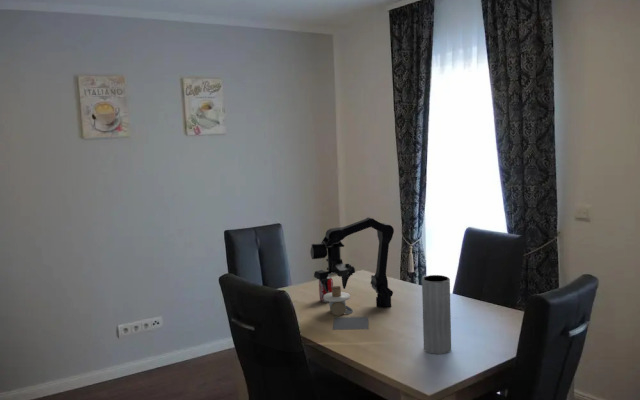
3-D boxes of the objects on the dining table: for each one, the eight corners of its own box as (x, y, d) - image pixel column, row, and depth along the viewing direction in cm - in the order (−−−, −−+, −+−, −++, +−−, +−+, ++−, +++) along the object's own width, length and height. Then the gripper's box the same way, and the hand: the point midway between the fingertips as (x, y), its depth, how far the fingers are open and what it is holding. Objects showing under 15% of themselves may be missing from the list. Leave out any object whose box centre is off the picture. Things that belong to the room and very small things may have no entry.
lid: (350, 293, 249) (349, 283, 248) (349, 301, 237) (348, 290, 236) (324, 294, 250) (324, 283, 249) (322, 302, 238) (321, 291, 238)
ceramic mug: (330, 317, 240) (329, 301, 239) (329, 311, 248) (328, 295, 247) (353, 316, 240) (353, 300, 239) (352, 310, 248) (351, 294, 247)
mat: (368, 318, 236) (368, 316, 236) (368, 330, 221) (368, 328, 221) (334, 319, 237) (334, 317, 237) (332, 331, 223) (332, 329, 222)
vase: (431, 342, 206) (430, 273, 203) (455, 347, 200) (454, 277, 197) (418, 350, 198) (416, 279, 195) (443, 356, 192) (441, 283, 189)
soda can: (332, 303, 260) (331, 279, 259) (318, 302, 262) (317, 279, 261) (335, 298, 267) (333, 275, 266) (321, 298, 269) (320, 275, 267)
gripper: (325, 263, 230) (327, 298, 231) (361, 256, 239) (362, 290, 241) (312, 259, 239) (314, 292, 241) (347, 252, 248) (349, 285, 250)
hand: (335, 290), depth 243 cm, fingers open, 9 cm apart
